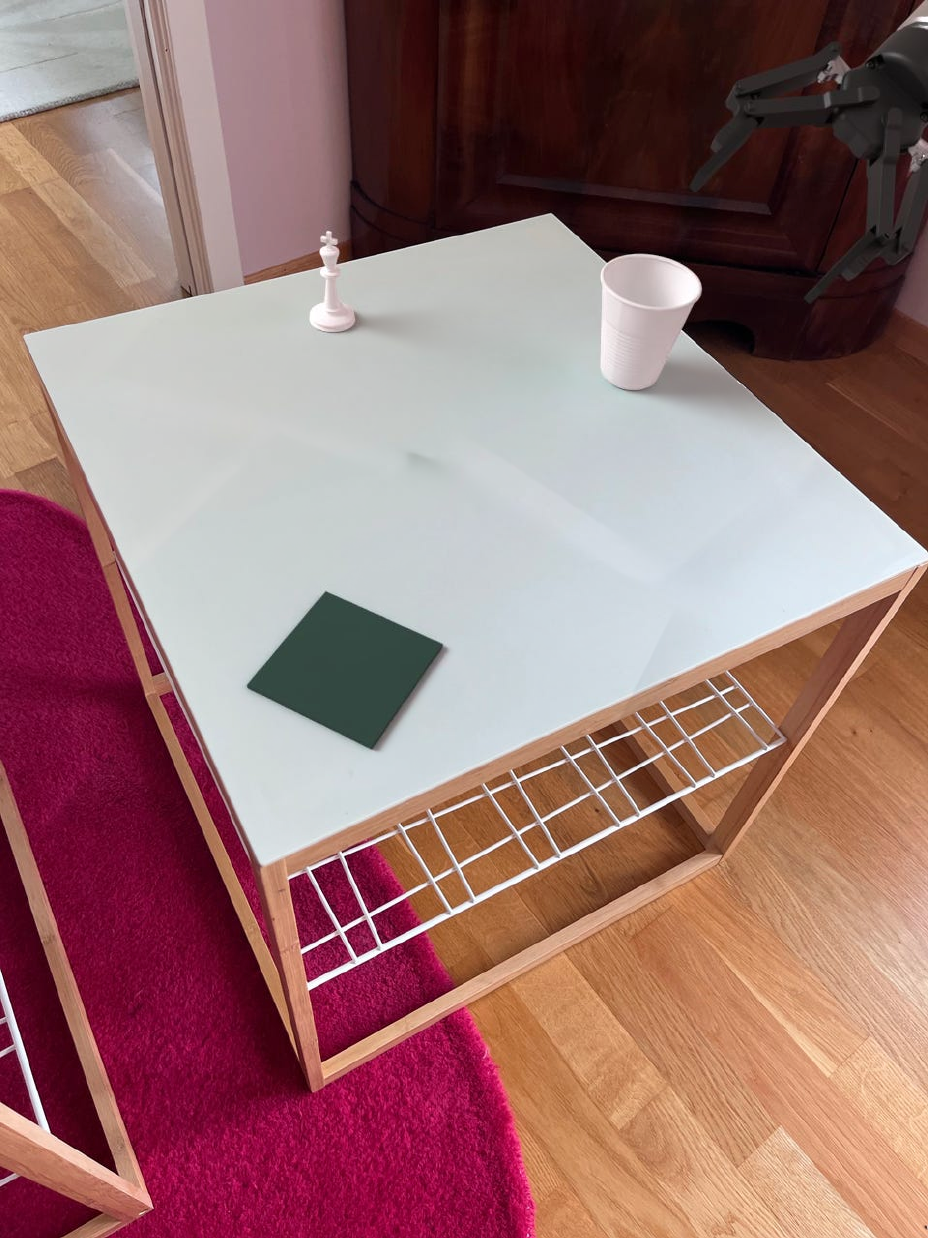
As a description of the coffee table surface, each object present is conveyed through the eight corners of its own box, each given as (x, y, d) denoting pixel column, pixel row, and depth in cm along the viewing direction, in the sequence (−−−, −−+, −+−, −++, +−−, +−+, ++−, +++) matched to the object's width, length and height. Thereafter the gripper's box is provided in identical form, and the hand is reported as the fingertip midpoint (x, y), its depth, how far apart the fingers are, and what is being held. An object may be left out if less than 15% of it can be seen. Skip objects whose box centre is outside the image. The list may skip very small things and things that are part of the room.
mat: (442, 646, 76) (443, 643, 75) (371, 749, 69) (371, 747, 69) (325, 593, 78) (325, 590, 78) (246, 688, 72) (246, 685, 72)
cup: (693, 376, 101) (721, 283, 93) (638, 416, 96) (663, 321, 88) (619, 335, 105) (640, 242, 97) (563, 371, 100) (580, 276, 92)
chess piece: (320, 302, 105) (315, 215, 97) (361, 312, 104) (360, 225, 97) (302, 326, 102) (296, 238, 94) (345, 336, 101) (342, 249, 94)
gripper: (1003, 187, 84) (842, 355, 83) (802, -8, 84) (638, 158, 83) (1058, 142, 77) (882, 326, 76) (838, -72, 77) (658, 109, 76)
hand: (754, 238), depth 80 cm, fingers open, 13 cm apart
